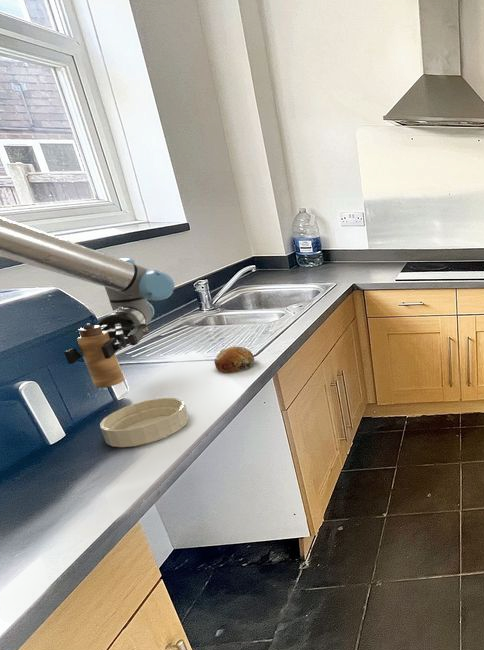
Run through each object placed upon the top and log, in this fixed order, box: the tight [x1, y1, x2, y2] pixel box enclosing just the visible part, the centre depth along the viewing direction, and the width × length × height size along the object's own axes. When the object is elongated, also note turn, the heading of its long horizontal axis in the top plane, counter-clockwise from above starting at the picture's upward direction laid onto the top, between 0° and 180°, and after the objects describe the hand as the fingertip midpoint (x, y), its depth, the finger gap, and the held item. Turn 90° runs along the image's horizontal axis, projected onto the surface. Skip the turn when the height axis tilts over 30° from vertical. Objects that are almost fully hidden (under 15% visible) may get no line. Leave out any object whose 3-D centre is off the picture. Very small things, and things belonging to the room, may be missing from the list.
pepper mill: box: [77, 323, 126, 389], centre depth 94 cm, size 5×5×14 cm
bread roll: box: [213, 345, 255, 374], centre depth 125 cm, size 10×10×8 cm
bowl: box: [99, 397, 190, 448], centre depth 92 cm, size 14×14×4 cm
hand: (87, 355), depth 89 cm, fingers closed on pepper mill, 5 cm apart
